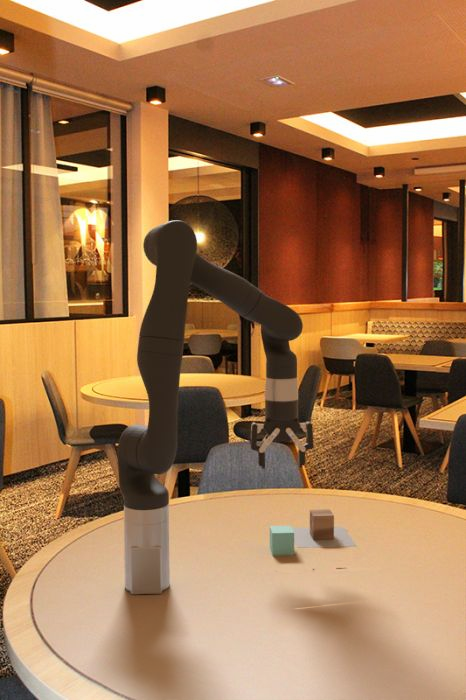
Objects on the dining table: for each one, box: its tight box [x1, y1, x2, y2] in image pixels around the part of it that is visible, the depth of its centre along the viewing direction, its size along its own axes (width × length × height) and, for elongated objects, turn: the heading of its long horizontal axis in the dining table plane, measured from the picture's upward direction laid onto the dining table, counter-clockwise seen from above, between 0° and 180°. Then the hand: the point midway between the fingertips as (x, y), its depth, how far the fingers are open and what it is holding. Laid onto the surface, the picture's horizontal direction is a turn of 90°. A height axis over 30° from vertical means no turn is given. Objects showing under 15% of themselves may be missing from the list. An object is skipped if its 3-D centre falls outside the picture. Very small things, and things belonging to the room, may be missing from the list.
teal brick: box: [269, 525, 295, 556], centre depth 164 cm, size 5×5×6 cm
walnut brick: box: [309, 508, 335, 540], centre depth 173 cm, size 5×5×6 cm
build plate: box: [292, 526, 357, 549], centre depth 174 cm, size 14×14×1 cm
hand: (281, 467), depth 162 cm, fingers open, 8 cm apart
